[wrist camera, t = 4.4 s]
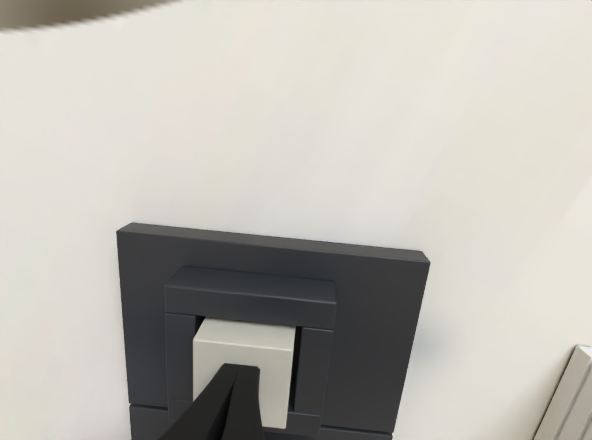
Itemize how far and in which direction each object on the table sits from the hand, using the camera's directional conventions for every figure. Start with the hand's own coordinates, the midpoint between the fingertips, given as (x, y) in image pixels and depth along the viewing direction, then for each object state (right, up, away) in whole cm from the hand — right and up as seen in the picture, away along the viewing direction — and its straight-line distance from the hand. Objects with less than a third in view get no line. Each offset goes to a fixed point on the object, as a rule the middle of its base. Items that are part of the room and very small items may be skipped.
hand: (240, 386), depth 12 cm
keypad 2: (+1, +1, +4) cm, 4 cm away
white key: (0, 0, +2) cm, 2 cm away
